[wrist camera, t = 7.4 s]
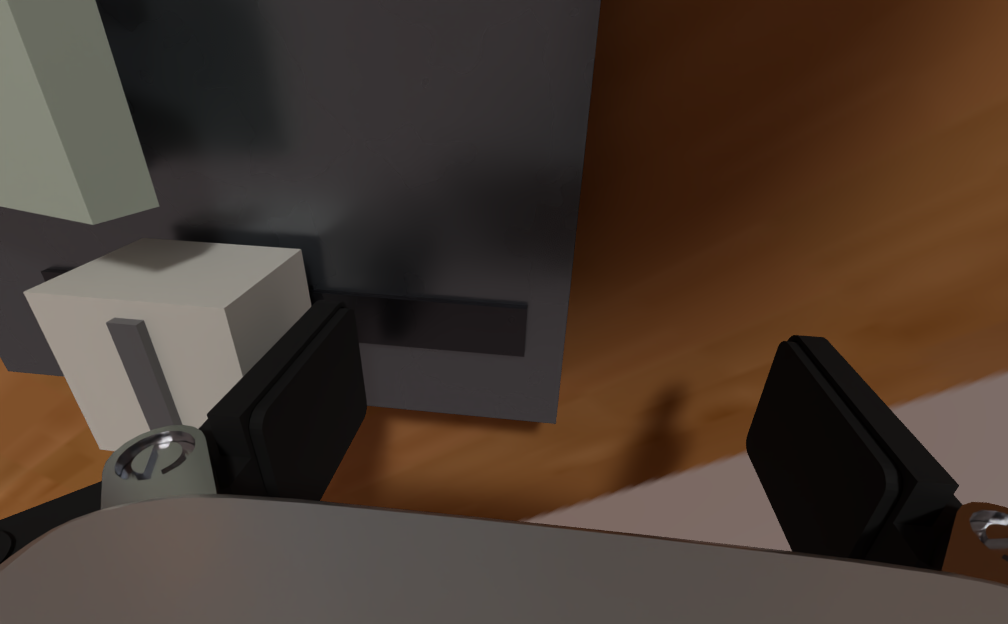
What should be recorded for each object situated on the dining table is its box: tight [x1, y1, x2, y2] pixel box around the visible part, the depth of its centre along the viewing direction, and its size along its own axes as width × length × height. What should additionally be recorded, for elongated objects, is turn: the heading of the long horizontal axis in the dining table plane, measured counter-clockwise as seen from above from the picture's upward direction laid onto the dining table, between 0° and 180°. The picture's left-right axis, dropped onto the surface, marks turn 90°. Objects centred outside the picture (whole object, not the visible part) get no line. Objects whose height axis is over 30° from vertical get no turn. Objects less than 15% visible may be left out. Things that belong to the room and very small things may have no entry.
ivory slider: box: [23, 238, 311, 451], centre depth 11 cm, size 4×4×3 cm
